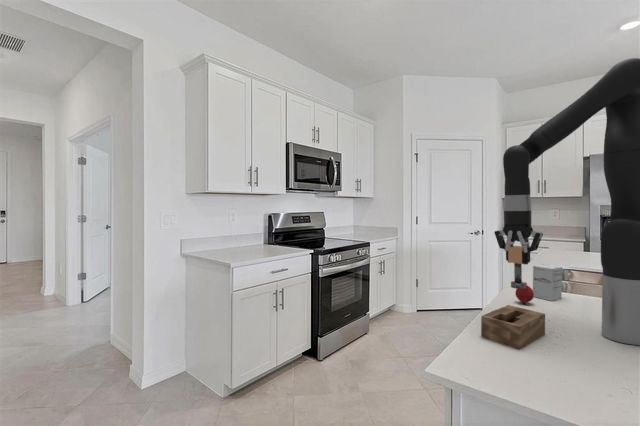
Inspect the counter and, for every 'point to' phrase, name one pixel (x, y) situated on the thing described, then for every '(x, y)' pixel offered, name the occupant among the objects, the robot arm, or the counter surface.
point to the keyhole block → (513, 326)
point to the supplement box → (547, 282)
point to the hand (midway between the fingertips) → (517, 263)
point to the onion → (525, 294)
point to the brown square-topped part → (516, 265)
